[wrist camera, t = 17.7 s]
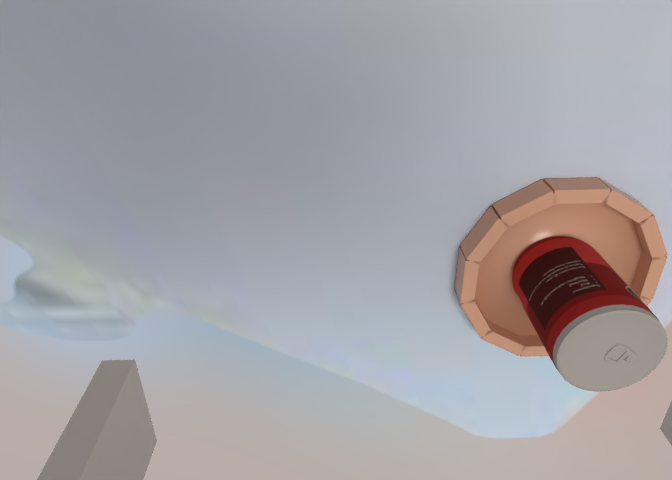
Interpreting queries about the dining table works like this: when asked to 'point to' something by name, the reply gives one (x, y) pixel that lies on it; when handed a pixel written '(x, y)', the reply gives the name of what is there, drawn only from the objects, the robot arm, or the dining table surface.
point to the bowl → (543, 222)
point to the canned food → (587, 315)
